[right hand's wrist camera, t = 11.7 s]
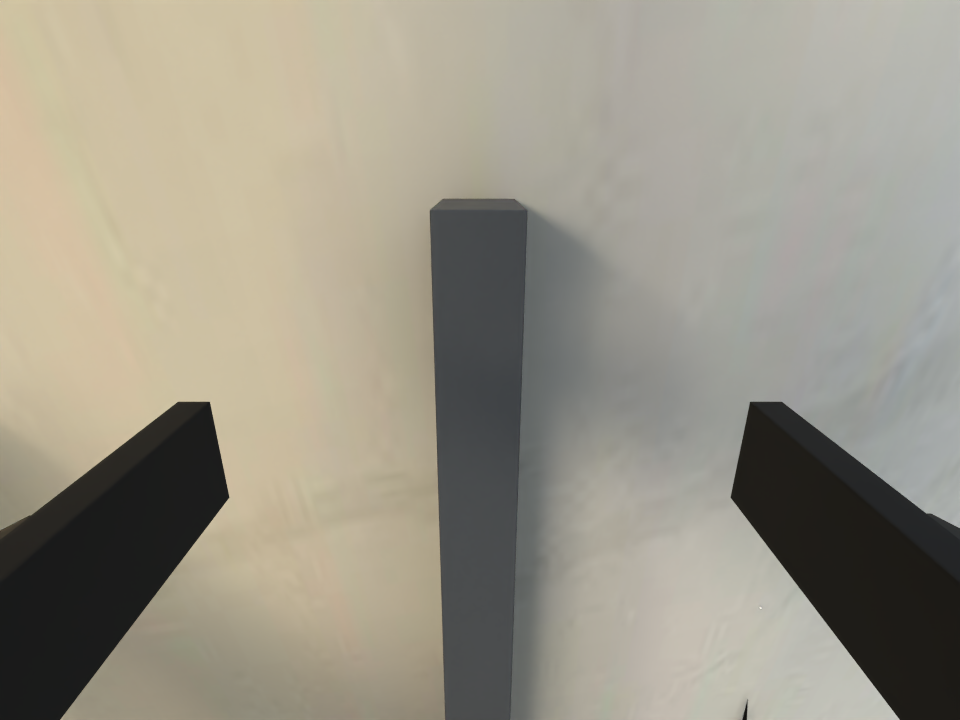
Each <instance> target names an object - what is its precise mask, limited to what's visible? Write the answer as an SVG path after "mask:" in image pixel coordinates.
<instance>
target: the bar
mask: <svg viewBox="0 0 960 720" xmlns="http://www.w3.org/2000/svg"><path fill="white" fill-rule="evenodd" d="M430 232H431V265H432V298H433V331H434V363H435V396H436V429H437V462H438V494H439V527H440V560H441V593H442V626H443V658H444V691H445V720H510V705H511V676H512V647H513V617H514V588H515V559H516V530H517V501H518V471H519V442H520V413H521V384H522V354H523V325H524V296H525V267H526V238H527V210H526V209H525V208H524V207H523V206H522V205H521V204H519V203H518V202H517V201H516V200H515V199H442V200H441V201H440V202H439V203H438V204H437V205H435V206H434V207H433V208H432V209H431V210H430Z"/></svg>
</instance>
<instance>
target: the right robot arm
mask: <svg viewBox="0 0 960 720" xmlns="http://www.w3.org/2000/svg"><path fill="white" fill-rule="evenodd" d="M228 499H229V494H228V489H227V484H226V479H225V474H224V469H223V464H222V459H221V454H220V450H219V445H218V440H217V435H216V430H215V425H214V420H213V415H212V411H211V406H210V402H177V403H176V404H175V405H174V406H172V407H171V408H170V409H168V410H167V411H166V412H164V413H163V414H162V415H161V416H159V417H158V418H157V419H155V420H154V421H153V422H152V423H150V424H149V425H148V426H146V427H145V428H144V429H142V430H141V431H140V432H139V433H137V434H136V435H135V436H133V437H132V438H131V439H130V440H128V441H127V442H126V443H124V444H123V445H122V446H121V447H119V448H118V449H117V450H115V451H114V452H113V453H111V454H110V455H109V456H108V457H106V458H105V459H104V460H102V461H101V462H100V463H99V464H97V465H96V466H95V467H93V468H92V469H91V470H90V471H88V472H87V473H86V474H84V475H83V476H82V477H80V478H79V479H78V480H77V481H75V482H74V483H73V484H71V485H70V486H69V487H68V488H66V489H65V490H64V491H62V492H61V493H60V494H58V495H57V496H56V497H55V498H53V499H52V500H51V501H49V502H48V503H47V504H46V505H44V506H43V507H42V508H40V509H39V510H38V511H37V512H35V513H34V514H33V515H31V516H28V517H26V518H24V519H22V520H20V521H18V522H16V523H14V524H12V525H10V526H8V527H6V528H5V529H3V530H1V531H0V720H60V719H61V718H62V716H63V715H64V714H65V713H66V711H67V710H68V709H69V707H70V706H71V705H72V703H73V702H74V701H75V699H76V698H77V697H78V695H79V694H80V693H81V692H82V690H83V689H84V688H85V686H86V685H87V684H88V682H89V681H90V680H91V678H92V677H93V676H94V674H95V673H96V672H97V670H98V669H99V668H100V667H101V665H102V664H103V663H104V661H105V660H106V659H107V657H108V656H109V655H110V653H111V652H112V651H113V649H114V648H115V647H116V646H117V644H118V643H119V642H120V640H121V639H122V638H123V636H124V635H125V634H126V632H127V631H128V630H129V628H130V627H131V626H132V625H133V623H134V622H135V621H136V619H137V618H138V617H139V615H140V614H141V613H142V611H143V610H144V609H145V607H146V606H147V605H148V604H149V602H150V601H151V600H152V598H153V597H154V596H155V594H156V593H157V592H158V590H159V589H160V588H161V586H162V585H163V584H164V583H165V581H166V580H167V579H168V577H169V576H170V575H171V573H172V572H173V571H174V569H175V568H176V567H177V565H178V564H179V563H180V562H181V560H182V559H183V558H184V556H185V555H186V554H187V552H188V551H189V550H190V548H191V547H192V546H193V544H194V543H195V542H196V541H197V539H198V538H199V537H200V535H201V534H202V533H203V531H204V530H205V529H206V527H207V526H208V525H209V523H210V522H211V521H212V520H213V518H214V517H215V516H216V514H217V513H218V512H219V510H220V509H221V508H222V506H223V505H224V504H225V502H226V501H227V500H228ZM731 499H732V500H733V501H734V502H735V504H736V505H737V506H738V508H739V509H740V510H741V512H742V513H743V514H744V516H745V517H746V518H747V520H748V521H749V522H750V523H751V525H752V526H753V527H754V529H755V530H756V531H757V533H758V534H759V535H760V537H761V538H762V539H763V541H764V542H765V543H766V544H767V546H768V547H769V548H770V550H771V551H772V552H773V554H774V555H775V556H776V558H777V559H778V560H779V562H780V563H781V564H782V565H783V567H784V568H785V569H786V571H787V572H788V573H789V575H790V576H791V577H792V579H793V580H794V581H795V583H796V584H797V585H798V586H799V588H800V589H801V590H802V592H803V593H804V594H805V596H806V597H807V598H808V600H809V601H810V602H811V604H812V605H813V606H814V607H815V609H816V610H817V611H818V613H819V614H820V615H821V617H822V618H823V619H824V621H825V622H826V623H827V625H828V626H829V627H830V628H831V630H832V631H833V632H834V634H835V635H836V636H837V638H838V639H839V640H840V642H841V643H842V644H843V646H844V647H845V648H846V649H847V651H848V652H849V653H850V655H851V656H852V657H853V659H854V660H855V661H856V663H857V664H858V665H859V667H860V668H861V669H862V670H863V672H864V673H865V674H866V676H867V677H868V678H869V680H870V681H871V682H872V684H873V685H874V686H875V688H876V689H877V690H878V692H879V693H880V694H881V695H882V697H883V698H884V699H885V701H886V702H887V703H888V705H889V706H890V707H891V709H892V710H893V711H894V713H895V714H896V715H897V716H898V718H899V719H900V720H960V528H958V527H956V526H954V525H952V524H950V523H948V522H946V521H944V520H942V519H940V518H939V517H937V516H935V515H933V514H926V513H925V512H923V511H922V510H921V509H920V508H918V507H917V506H916V505H914V504H913V503H912V502H911V501H909V500H908V499H907V498H905V497H904V496H903V495H901V494H900V493H899V492H898V491H896V490H895V489H894V488H892V487H891V486H890V485H889V484H887V483H886V482H885V481H883V480H882V479H881V478H880V477H878V476H877V475H876V474H874V473H873V472H872V471H870V470H869V469H868V468H867V467H865V466H864V465H863V464H861V463H860V462H859V461H858V460H856V459H855V458H854V457H852V456H851V455H850V454H849V453H847V452H846V451H845V450H843V449H842V448H841V447H839V446H838V445H837V444H836V443H834V442H833V441H832V440H830V439H829V438H828V437H827V436H825V435H824V434H823V433H821V432H820V431H819V430H818V429H816V428H815V427H814V426H812V425H811V424H810V423H808V422H807V421H806V420H805V419H803V418H802V417H801V416H799V415H798V414H797V413H796V412H794V411H793V410H792V409H790V408H789V407H788V406H786V405H785V404H784V403H783V402H750V406H749V411H748V415H747V420H746V425H745V430H744V435H743V440H742V445H741V450H740V454H739V459H738V464H737V469H736V474H735V479H734V484H733V489H732V494H731Z"/></svg>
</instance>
